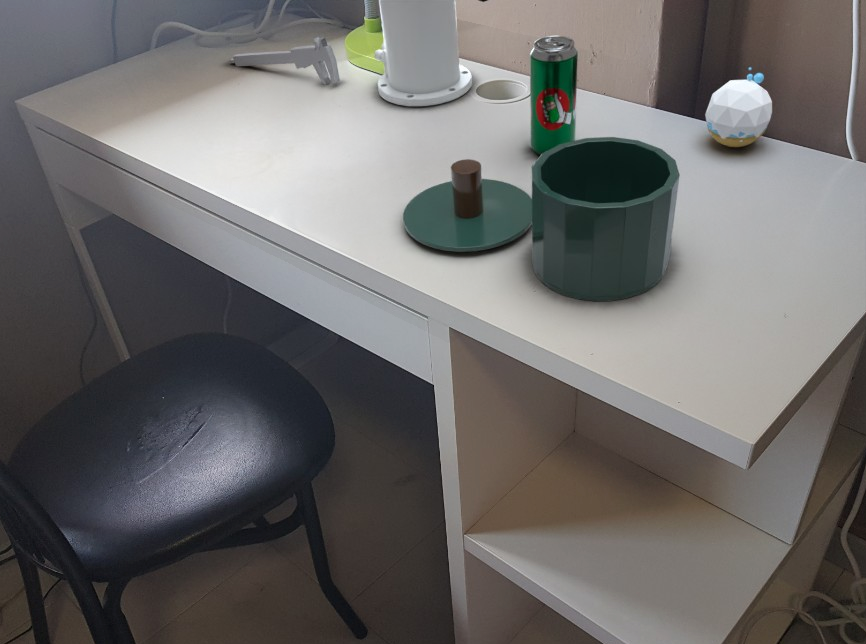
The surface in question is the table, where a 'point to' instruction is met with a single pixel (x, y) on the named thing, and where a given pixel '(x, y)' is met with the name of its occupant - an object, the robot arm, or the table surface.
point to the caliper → (297, 59)
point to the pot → (603, 217)
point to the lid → (468, 212)
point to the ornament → (739, 112)
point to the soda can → (553, 92)
